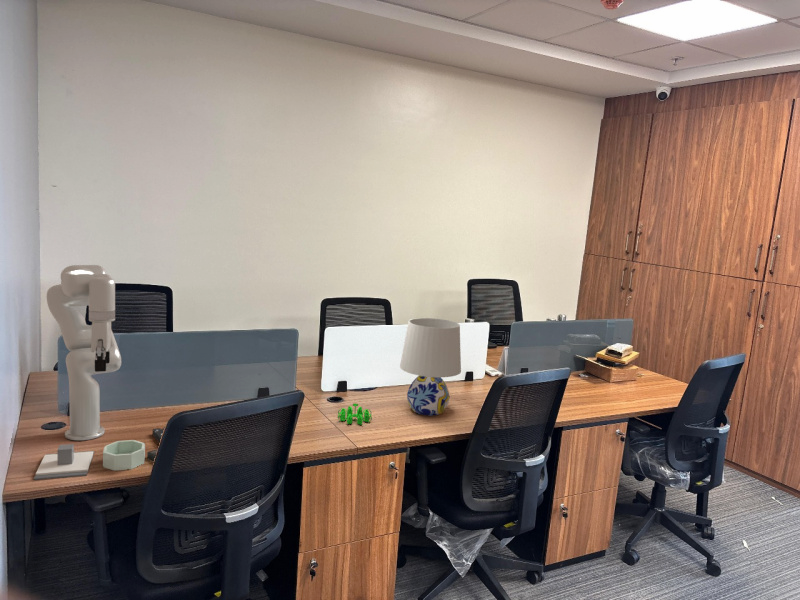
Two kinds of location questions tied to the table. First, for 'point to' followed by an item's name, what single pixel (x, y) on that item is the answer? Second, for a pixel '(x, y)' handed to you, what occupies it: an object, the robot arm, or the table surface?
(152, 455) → the multiport hub
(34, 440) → the table surface
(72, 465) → the lid
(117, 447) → the bowl
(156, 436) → the disk drive
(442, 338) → the table lamp
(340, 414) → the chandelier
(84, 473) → the mat
